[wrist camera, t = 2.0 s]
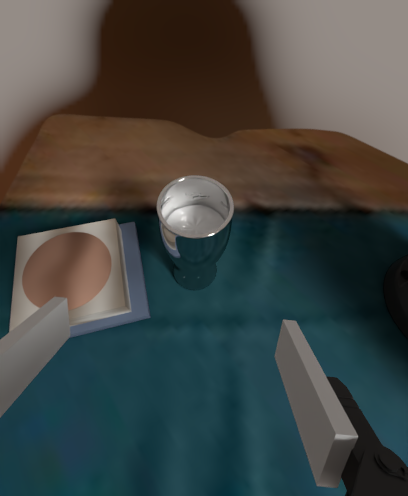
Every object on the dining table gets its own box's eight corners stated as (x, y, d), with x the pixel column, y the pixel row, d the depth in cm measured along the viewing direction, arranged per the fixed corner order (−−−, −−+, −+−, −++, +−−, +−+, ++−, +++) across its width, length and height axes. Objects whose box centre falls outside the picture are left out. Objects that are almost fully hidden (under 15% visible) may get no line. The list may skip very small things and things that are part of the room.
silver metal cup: (165, 253, 35) (147, 181, 21) (211, 242, 36) (221, 167, 23) (176, 299, 32) (163, 249, 19) (226, 286, 33) (248, 229, 20)
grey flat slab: (136, 225, 37) (134, 221, 36) (150, 317, 31) (148, 315, 30) (22, 248, 34) (16, 244, 33) (14, 351, 28) (7, 350, 27)
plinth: (121, 230, 35) (114, 217, 32) (131, 311, 30) (124, 305, 27) (32, 247, 33) (16, 235, 30) (26, 337, 28) (7, 333, 25)
